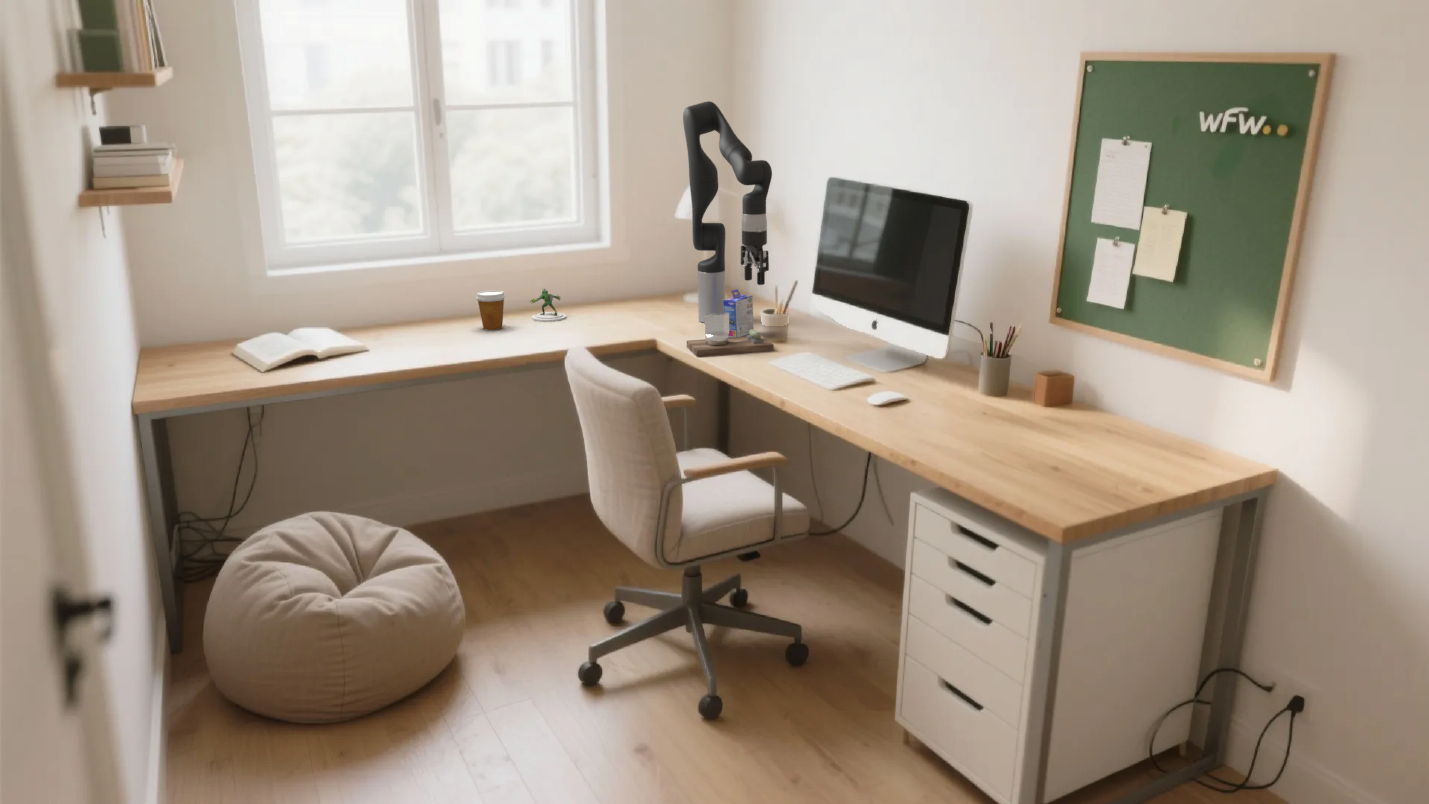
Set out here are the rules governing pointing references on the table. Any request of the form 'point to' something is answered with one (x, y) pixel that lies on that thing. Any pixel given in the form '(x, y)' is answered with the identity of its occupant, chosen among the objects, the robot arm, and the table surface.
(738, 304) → the ink cartridge box
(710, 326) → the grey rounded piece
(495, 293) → the disposable coffee cup
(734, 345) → the board
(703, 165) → the robot arm
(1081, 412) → the table surface
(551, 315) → the monster figurine
